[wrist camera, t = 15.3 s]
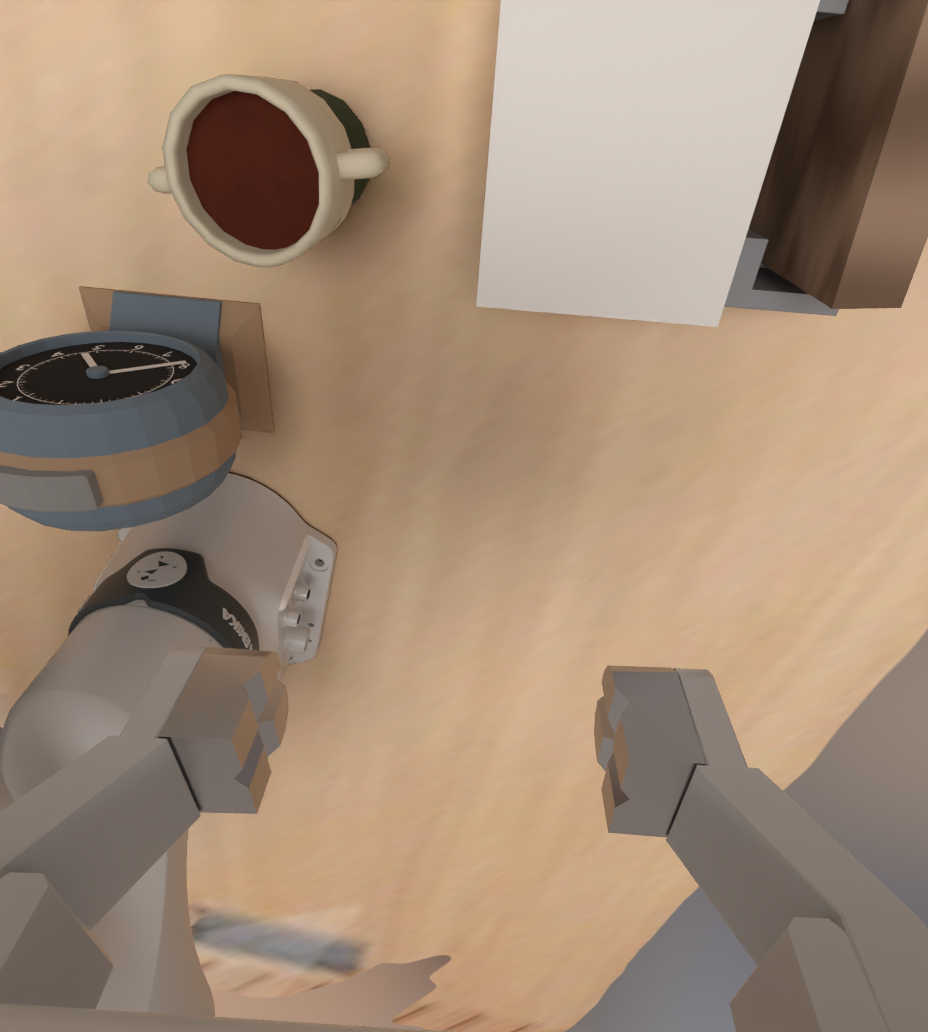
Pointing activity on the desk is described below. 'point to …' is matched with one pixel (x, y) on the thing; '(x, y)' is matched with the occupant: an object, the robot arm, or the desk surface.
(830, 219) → the wooden block
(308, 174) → the character mug
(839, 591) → the desk surface
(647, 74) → the cabinet
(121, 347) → the alarm clock
